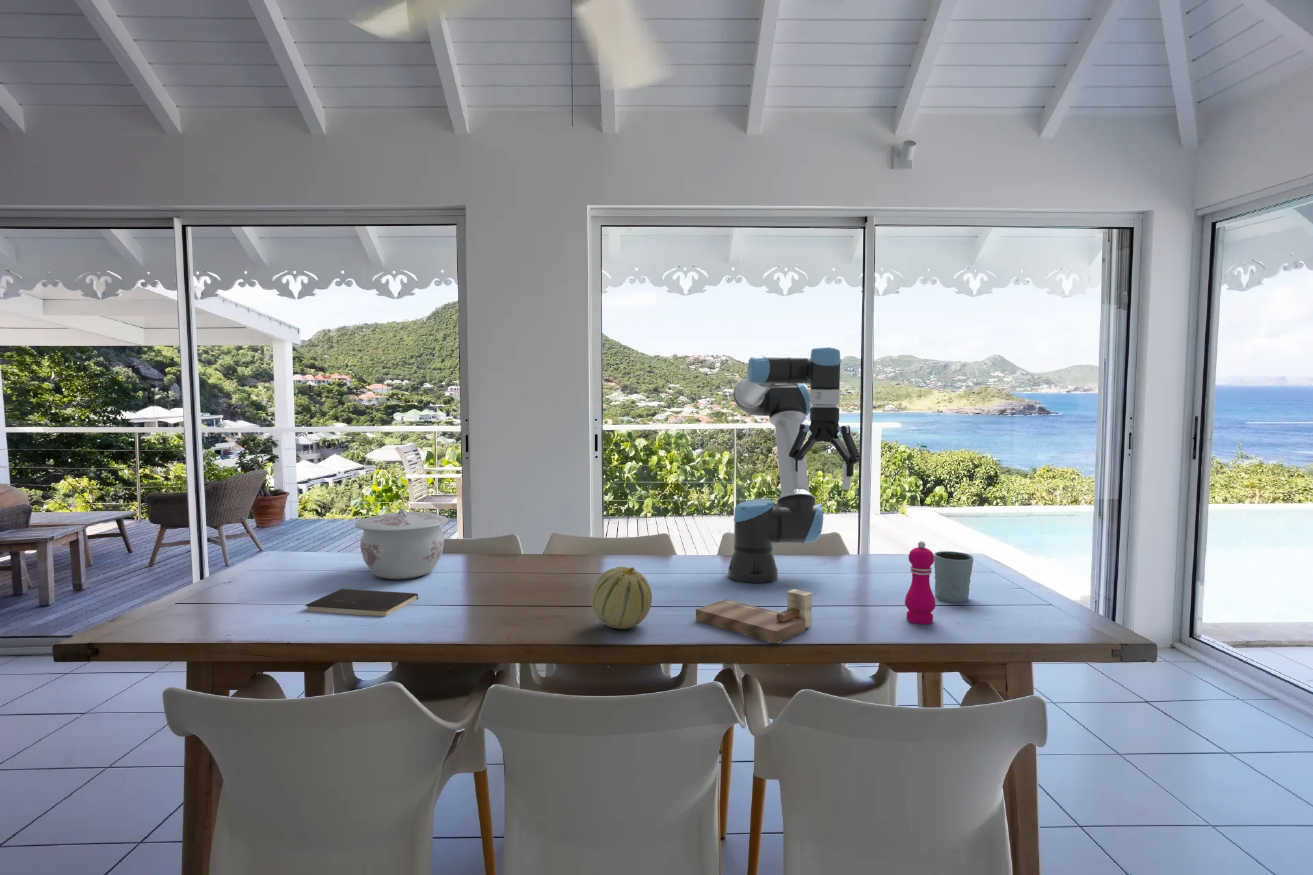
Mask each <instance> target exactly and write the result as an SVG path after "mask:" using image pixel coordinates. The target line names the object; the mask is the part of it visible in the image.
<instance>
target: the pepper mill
mask: <svg viewBox="0 0 1313 875" xmlns="http://www.w3.org/2000/svg"><path fill="white" fill-rule="evenodd" d="M908 562H909V563H910V564H911V565H910V573H911V576H912V577H911V584H910V586H909V588H908V591H907V593H906V595H905V599H904V605H905V607H906V608H907V611H906V620H907V621H908V622H909V621H910V623H913V624H916V625H928V624H932V623H933V622H934V614H933V613H932V612H933V611H934V610H935V608H936V599H935V598H936V597H935V594H934V593H933V591H932V588H931V582H930V578H931V577H930V576H931V574H932V569H933V568H932V567H931V566H932V565H933V564H934V553H933V551H932V550H930V549H929V548H927V547H926V543H925V542H924V541H921V540H920V541H918V543H917V547H913V548H912V549H911V550H910V551H909V553H908Z"/></svg>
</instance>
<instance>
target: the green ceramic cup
mask: <svg viewBox="0 0 1313 875" xmlns="http://www.w3.org/2000/svg"><path fill="white" fill-rule="evenodd" d="M933 555H934V563H933V564H934V598H936V599H937V600H939V601H944V602H949V603H964V602H967V601H969V596H970V584H971V576H972V572H973V564H974V556H973V555H971V554H969V553H965V552H959V551H952V550H951V551H950V550H943V551H937V552H936V551H935V552H934V553H933Z"/></svg>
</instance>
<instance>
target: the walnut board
mask: <svg viewBox="0 0 1313 875" xmlns="http://www.w3.org/2000/svg"><path fill="white" fill-rule="evenodd" d="M778 613H780V612H778V611H775V610H771V609H767V608H762V607H760V606H755V605H751V604H746V603H743V602H739V601H735V600H730V599H727V598H724V599H722V600H719V601H716V602H714V603H710V604H707V605H704V606H701V607H699V608H695V621H696V622H699V623H701V624H702V623H703V624H706V625H707V626H712V627H715V628H720V629H723V630H726V631H730V632H733V633H736V632H737V633H736V634H739V633H740V635H743V634H745V635H744V636H746V635H747V637H750V636H751V637H750V638H753V637H754V638H753V639H756V638H757V640H760V639H762V640H761V641H763V640H765V641H764V642H767V641H770V642H773V643H772V644H774V643H778V642H780V641H783V642H785V641H786V640H785V639H787V640H789V639H791V637H792V636H794V637H796V636H798V635H797V634H799V635H800V633H801V632H803V633H805V632H806V628H805V619H803V618H799V617H795V618H792V619H790V620H787V621H785V622H782V621H779V620H777V614H778ZM801 634H802V633H801ZM795 635H796V636H795ZM792 638H793V637H792ZM784 640H785V641H784ZM770 642H769V643H770ZM780 643H781V642H780ZM778 644H779V643H778Z"/></svg>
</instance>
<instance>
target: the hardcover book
mask: <svg viewBox="0 0 1313 875" xmlns="http://www.w3.org/2000/svg"><path fill="white" fill-rule="evenodd" d="M416 600H419V594H418V593H416V592H400V591H388V590H387V591H384V590H383V591H382V590H369V589H368V590H367V589H353V588H341V589H339V590H337V591H334V592H332V593H328V594H327V595H325V596H324V595H323V597H320V598H318V599H316V600H313V601H311V602H309V603H307V604H305V605H304V606H305V607H307V608H306V609H307V612H319V613H331V614H334V613H335V614H345V615H360V616H361V615H362V616H375V617H387V616H389V615H391V614H393V613H395V612H397V611H399V610H400V609H402V608H404V607H405V606H407V605H409V604H411V603H413V602H415V601H416Z"/></svg>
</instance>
